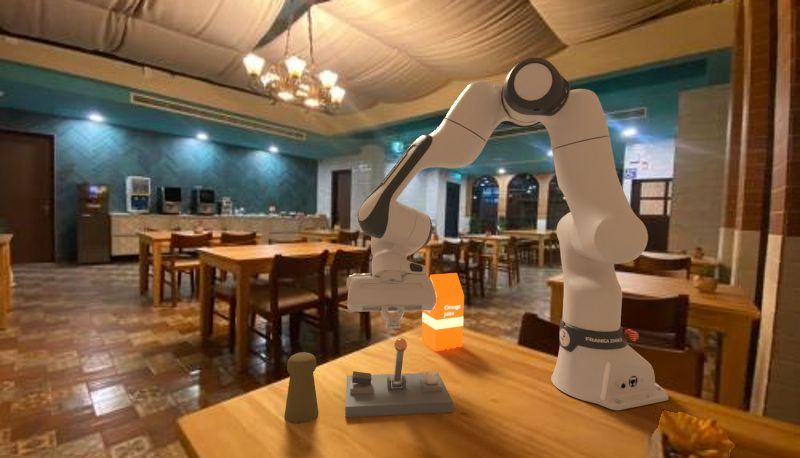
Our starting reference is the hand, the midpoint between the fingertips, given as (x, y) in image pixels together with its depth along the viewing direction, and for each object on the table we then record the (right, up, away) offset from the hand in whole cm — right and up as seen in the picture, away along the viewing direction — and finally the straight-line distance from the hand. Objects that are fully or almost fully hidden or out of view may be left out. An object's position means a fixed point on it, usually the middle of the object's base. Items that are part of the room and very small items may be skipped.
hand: (393, 327), depth 78 cm
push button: (+8, -10, -5) cm, 13 cm away
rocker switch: (-6, -8, -7) cm, 12 cm away
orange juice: (+13, -11, +23) cm, 29 cm away
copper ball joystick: (+1, -9, -6) cm, 11 cm away
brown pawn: (-17, -13, -12) cm, 24 cm away
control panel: (+1, -13, -5) cm, 14 cm away
